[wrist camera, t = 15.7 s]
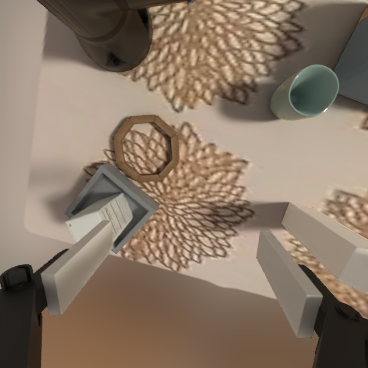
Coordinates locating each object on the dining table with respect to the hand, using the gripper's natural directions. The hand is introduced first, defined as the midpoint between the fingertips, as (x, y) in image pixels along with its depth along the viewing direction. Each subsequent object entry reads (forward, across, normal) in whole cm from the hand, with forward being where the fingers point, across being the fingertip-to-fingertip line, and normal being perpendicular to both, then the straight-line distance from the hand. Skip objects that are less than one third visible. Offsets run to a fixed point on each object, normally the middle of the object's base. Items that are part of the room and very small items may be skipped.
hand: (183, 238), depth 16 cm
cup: (+29, +19, +17) cm, 38 cm away
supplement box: (+28, -19, -10) cm, 35 cm away
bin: (+29, -19, -9) cm, 36 cm away
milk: (+29, +26, -9) cm, 40 cm away
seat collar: (+29, -11, +6) cm, 31 cm away
